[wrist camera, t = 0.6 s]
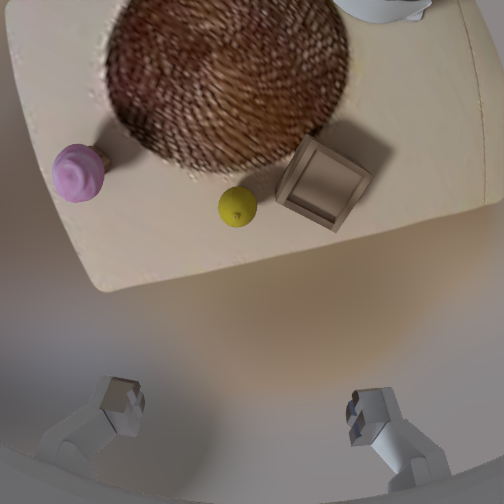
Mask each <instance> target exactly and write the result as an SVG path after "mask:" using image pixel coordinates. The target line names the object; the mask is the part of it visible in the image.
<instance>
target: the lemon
mask: <svg viewBox="0 0 504 504" xmlns="http://www.w3.org/2000/svg"><path fill="white" fill-rule="evenodd" d="M218 209H219V214H220V217H221V219H222V220H223V221H224V222H225V223H226V224H227V225H229V226H232V227H242V226H245V225H247V224H248V223H250V222H251V221H252V219H253V218H254V216H255V214H256V211H257V202H256V198H255V196H254V195H253V193H252V192H251V191H250V190H248V189H247V188H244V187H238V186H237V187H232V188H230V189H228V190H227V191H225V192H224V193H223V195H222V196H221V198H220V200H219V205H218Z"/></svg>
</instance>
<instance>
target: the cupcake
mask: <svg viewBox="0 0 504 504" xmlns="http://www.w3.org/2000/svg"><path fill="white" fill-rule="evenodd" d="M110 165H111V160H110V158H109V157H108V156H106V155H105V154H104V153H103V152H101V151H99V150H98V149H97V148H96V147H94V146H85V145H82V144H73V145H70V146H68V147H66V148H65V149H64V150H62V151H61V152H60V154H59V155H58V156H57V158H56V159H55V161H54V164H53V167H52V178H53V183H54V187H55V189H56V191H57V193H58V194H59V195H60V196H61V197H62V198H64V199H65V200H66V201H68V202H74V203H78V202H83V201H88V200H90V199H92V198H94V197H95V196H96V195H97V194H98V193H99V191H100V189H101V187H102V185H103V181H104V174H105V173H106V171H107V170H108V169H109V167H110Z"/></svg>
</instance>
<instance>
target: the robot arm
mask: <svg viewBox="0 0 504 504" xmlns="http://www.w3.org/2000/svg"><path fill="white" fill-rule="evenodd" d="M333 1H334V2H335V3H336V4H337V5H338V6H339V7H340V8H342V9H343V10H344V11H346V12H347V13H349V14H350V15H352V16H354V17H356V18H358V19H361V20H363V21H367V22H371V23H390V22H394V21H398V20H406V21H412V22H416V21H418V20H420V19H421V18H422V14H423V11H424V9H425V8H427V7H429V6H430V5H431V4H432V1H431V0H333ZM140 387H141V386H140V383H139V381H135V380H129V379H123V378H118V377H114V376H108V375H102V376H101V377H100V378H99V380H98V382H97V384H96V387H95V389H94V391H93V394H92V396H91V399H90V401H89V403H88V405H87V406H86V405H84V406H82V407H81V408H80V409H78V410H77V411H75V412H74V413H72V414H71V415H69V416H68V417H67V418H65V419H64V420H62V421H61V422H59V423H58V424H56V425H55V426H53V427H52V428H51V429H49V430H48V431H46V432H45V433H44V435H43V437H42V440H41V442H40V444H39V447H38V449H37V451H36V454H35V456H34V457H32V456H29V455H27V454H25V453H23V452H21V451H18V450H17V449H15V448H13V447H11V446H9V445H6V444H5V443H3V442H1V441H0V504H213V503H203V502H195V501H187V500H180V499H173V498H167V497H161V496H156V495H151V494H146V493H142V492H137V491H133V490H128V489H124V488H120V487H116V486H113V485H109V484H106V483H102V482H99V481H96V477H97V474H98V471H97V469H96V468H95V467H94V466H93V465H92V464H91V463H90V459H92V458H93V457H94V456H95V455H96V454H97V453H98V452H99V451H100V450H101V449H102V448H103V447H104V446H106V445H107V444H108V443H109V442H110V441H111V440H112V439H113V438H114V437H115V436H116V435H117V434H122V435H128V436H133V437H137V433H138V429H139V426H140V422H139V420H138V418H139V417H141V416H142V415H143V412H144V407H145V398H144V394H143V393H142V392H141V391H140ZM346 420H347V424H348V425H349V426H350V427H351V430H350V432H349V436H350V441H351V446H362V445H371V446H372V447H373V448H374V449H375V451H376V452H377V453H378V454H379V455H380V456H381V457H382V458H383V460H384V461H385V462H386V463H387V464H388V465H389V466H390V467H391V469H392V470H393V471H394V472H395V473H396V476H394V477H393V478H392V479H391V480H390V481H389V482H388V483H387V489H388V494H383V495H378V496H372V497H367V498H361V499H355V500H347V501H340V502H331V503H321V504H504V455H502V456H500V457H498V458H496V459H494V460H491V461H489V462H487V463H484V464H482V465H480V466H477V467H474V468H472V469H469V470H467V471H464V472H461V473H458V474H456V475H453V476H452V475H451V472H450V469H449V465H448V462H447V459H446V456H445V453H444V451H443V449H441V448H440V447H439V446H438V445H436V444H435V443H434V442H433V441H432V440H430V439H429V438H428V437H427V436H426V435H425V434H423V433H422V432H421V431H420V430H419V429H417V428H416V427H415V426H414V425H413V424H412V423H410V422H409V421H408V420H407V419H403V418H402V415H401V412H400V409H399V406H398V403H397V400H396V397H395V394H394V391H393V389H392V388H391V387H384V388H371V389H362V390H355V391H354V392H353V393H352V400H351V401H349V402H348V405H347V408H346ZM116 433H117V434H116Z"/></svg>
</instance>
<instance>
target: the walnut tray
mask: <svg viewBox="0 0 504 504" xmlns="http://www.w3.org/2000/svg"><path fill="white" fill-rule="evenodd" d="M372 177H373V175H372V174H371V173H370V172H368V171H367V170H366V169H365V168H364V167H362V166H361V165H360V164H358V163H356V162H355V161H353V160H352V159H350V158H348V157H347V156H345V155H343V154H342V153H340V152H338V151H337V150H335V149H333V148H332V147H330V146H328V145H326V144H325V143H323V142H321V141H320V140H318V139H316V138H314V137H312V136H311V135H309V134H307V133H306V135H305V137H304V138H303V140H302V142H301V144H300V145H299V147H298V149H297V151H296V152H295V154H294V156H293V158H292V159H291V161H290V163H289V165H288V167H287V168H286V170H285V172H284V174H283V175H282V177H281V179H280V181H279V182H278V184H277V186H276V188H275V197H276V202H277V203H279V204H281V205H283V206H285V207H287V208H289V209H291V210H293V211H295V212H297V213H299V214H301V215H303V216H304V217H306V218H308V219H310V220H312V221H314V222H316V223H318V224H320V225H322V226H324V227H326V228H327V229H329V230H331V231H333V232H335V233H337V231H338V230H339V228H340V227H341V225H342V224H343V222H344V221H345V219H346V218H347V216H348V215H349V213H350V212H351V210H352V209H353V207H354V206H355V204H356V202H357V201H358V199H359V198H360V196H361V195H362V193H363V192H364V190H365V188H366V187H367V185H368V184H369V182H370V181H371V179H372Z"/></svg>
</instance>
